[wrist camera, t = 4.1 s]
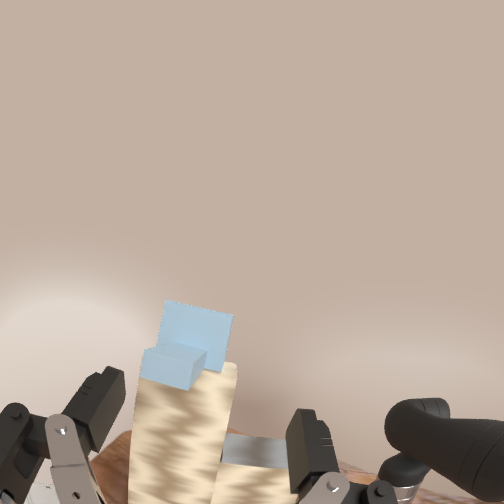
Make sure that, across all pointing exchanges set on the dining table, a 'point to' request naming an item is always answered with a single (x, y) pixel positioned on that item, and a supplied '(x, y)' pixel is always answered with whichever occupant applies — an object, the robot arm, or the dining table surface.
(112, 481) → the dining table surface
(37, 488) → the skincare box
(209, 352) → the blue handle block
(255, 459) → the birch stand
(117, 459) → the dining table surface
